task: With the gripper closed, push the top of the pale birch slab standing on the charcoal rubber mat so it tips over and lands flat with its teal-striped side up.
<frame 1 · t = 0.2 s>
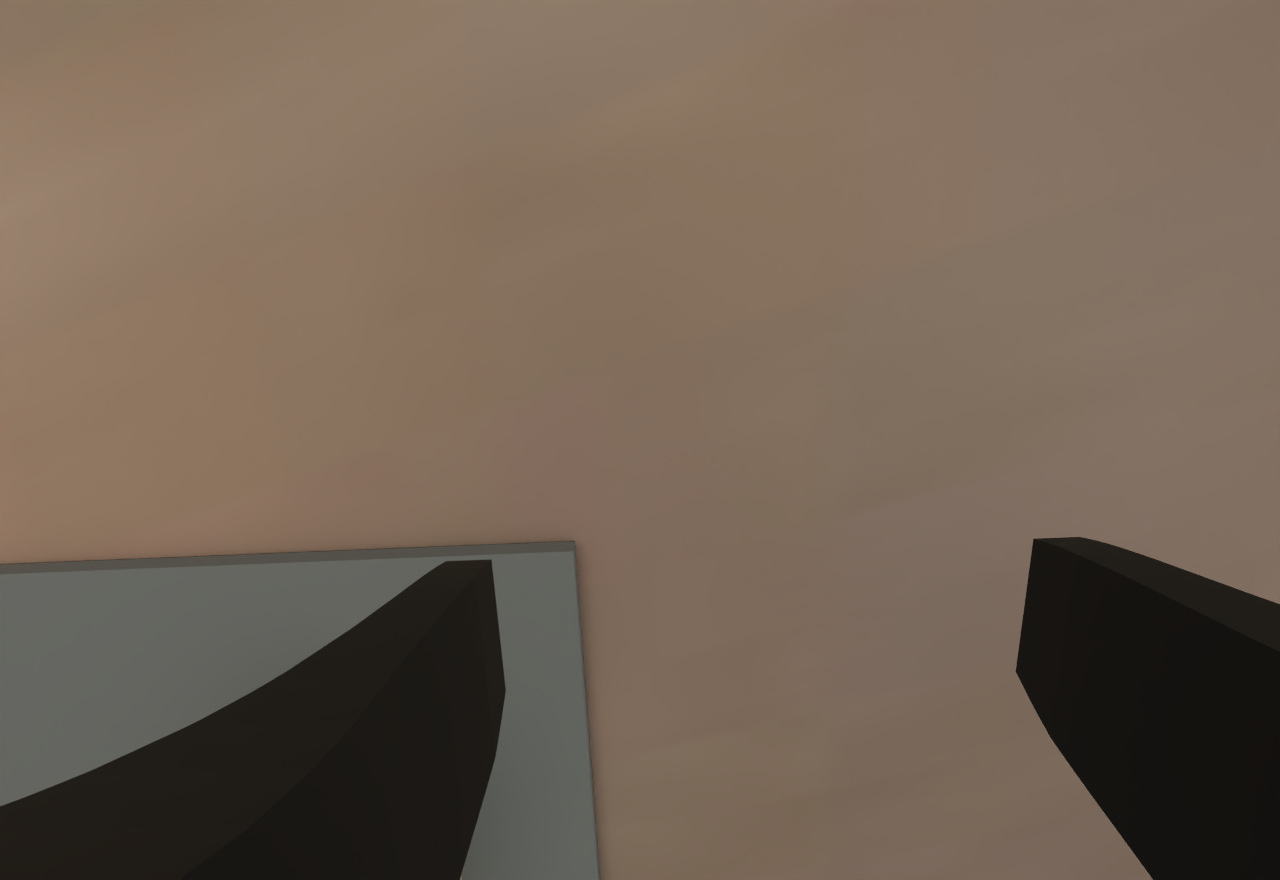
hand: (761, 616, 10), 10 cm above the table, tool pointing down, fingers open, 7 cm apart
mat: (296, 791, 23), on the table
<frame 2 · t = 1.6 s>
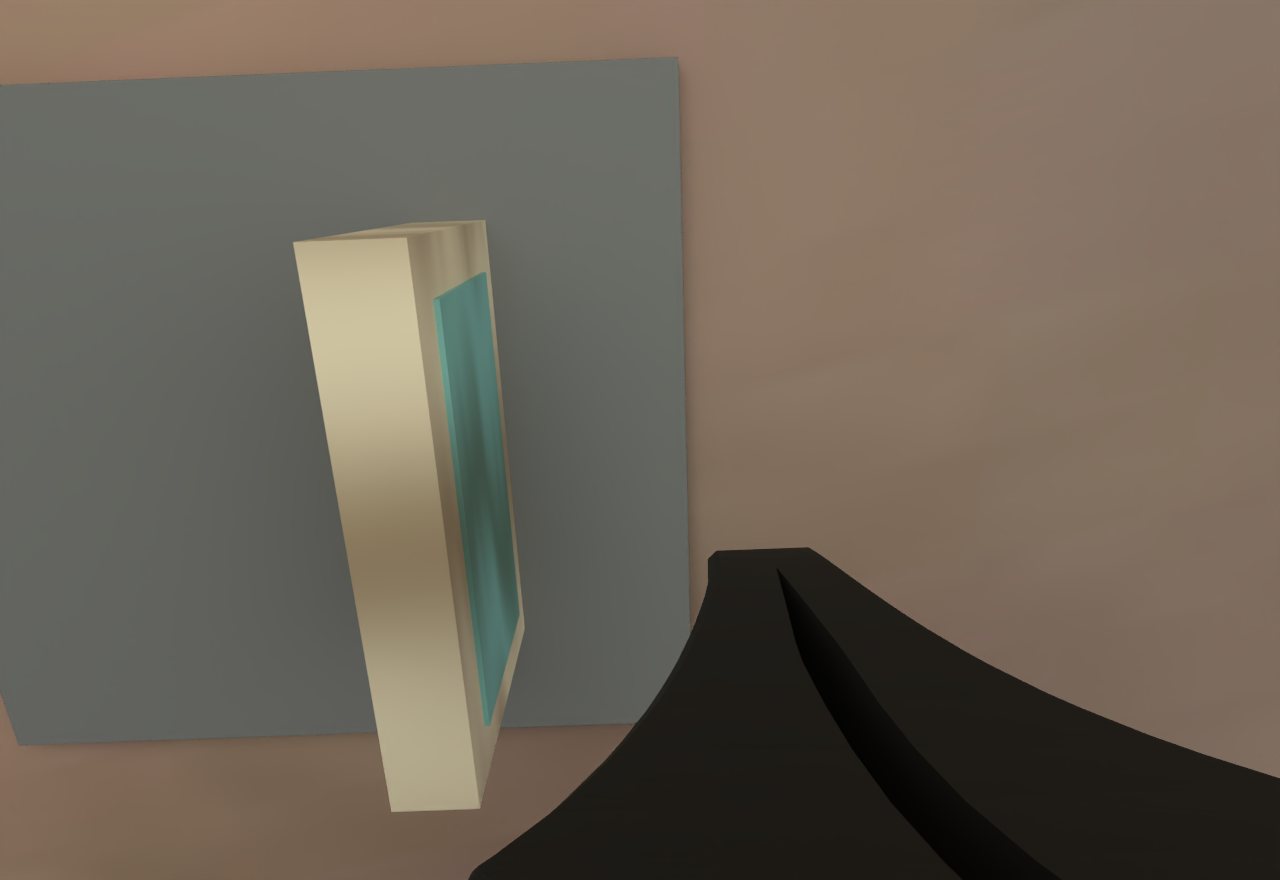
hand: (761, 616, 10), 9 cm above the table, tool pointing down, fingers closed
slab: (472, 443, 18), point 1 cm above the table, touching mat
mat: (312, 441, 19), on the table
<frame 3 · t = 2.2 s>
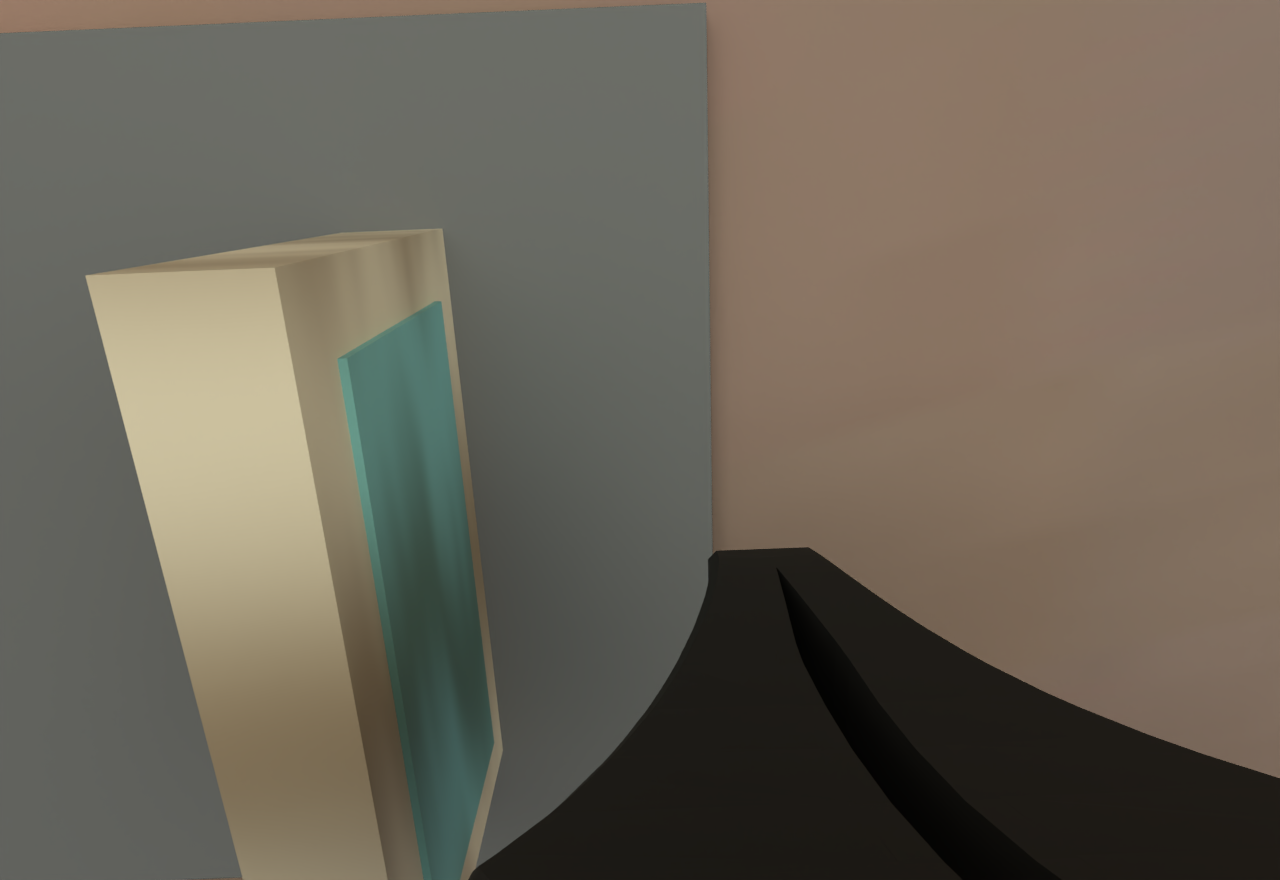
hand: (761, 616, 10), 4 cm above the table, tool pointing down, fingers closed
slab: (431, 520, 14), point 1 cm above the table, touching mat
mat: (224, 515, 14), on the table
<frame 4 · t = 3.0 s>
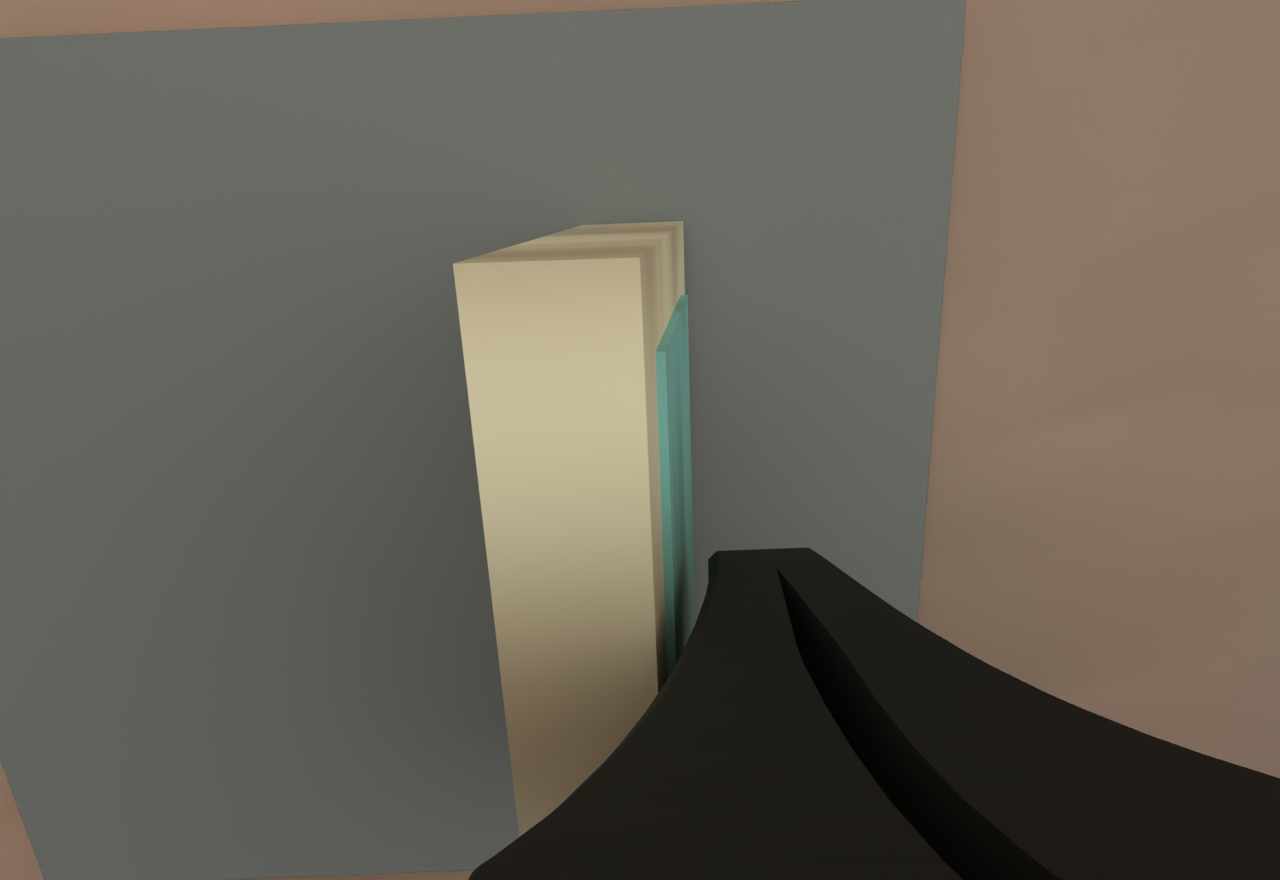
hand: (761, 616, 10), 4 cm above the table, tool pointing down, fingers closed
slab: (645, 515, 14), point 1 cm above the table, tilted 7°, touching mat
mat: (429, 509, 14), on the table
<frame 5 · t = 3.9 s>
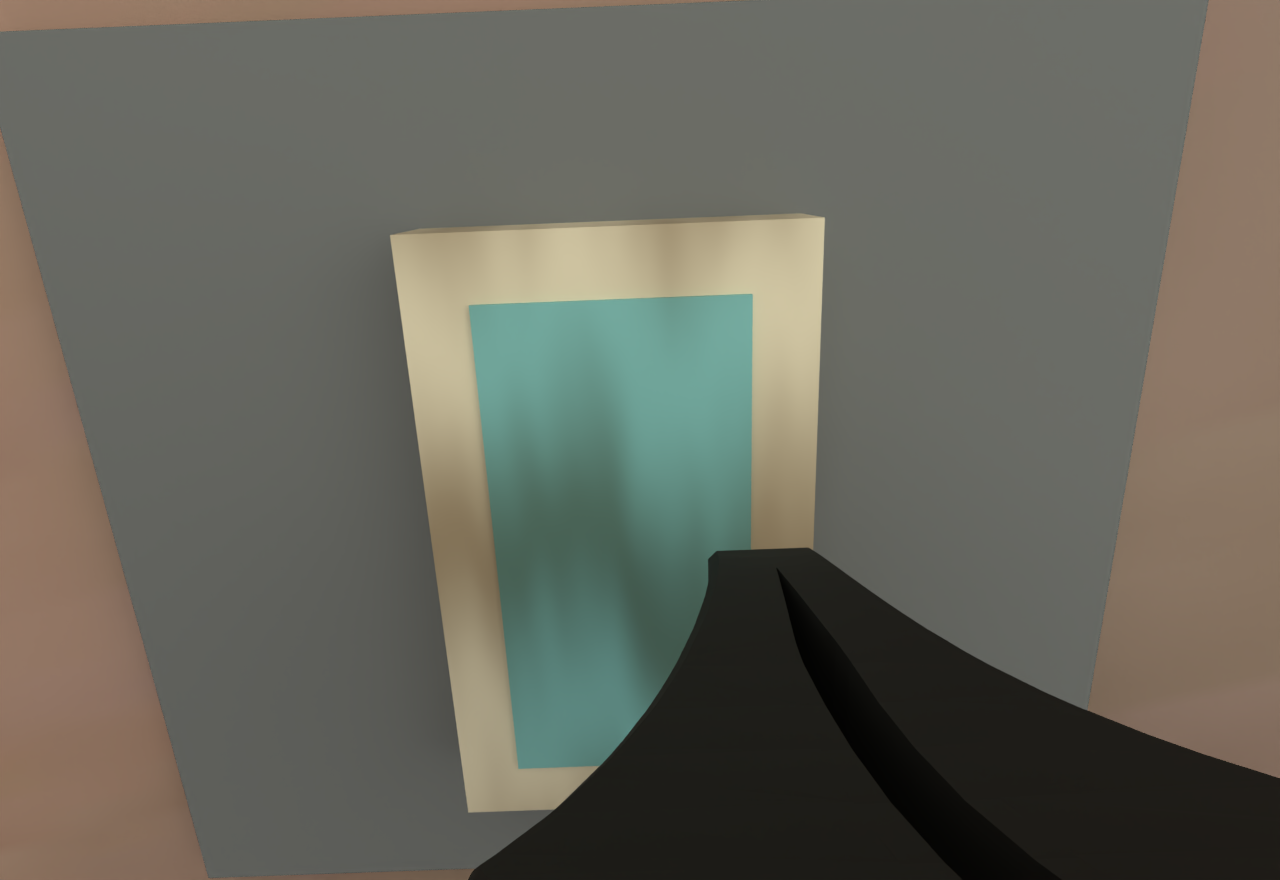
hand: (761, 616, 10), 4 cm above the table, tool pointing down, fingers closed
slab: (802, 525, 13), point 1 cm above the table, tilted 90°, touching mat
mat: (617, 500, 14), on the table
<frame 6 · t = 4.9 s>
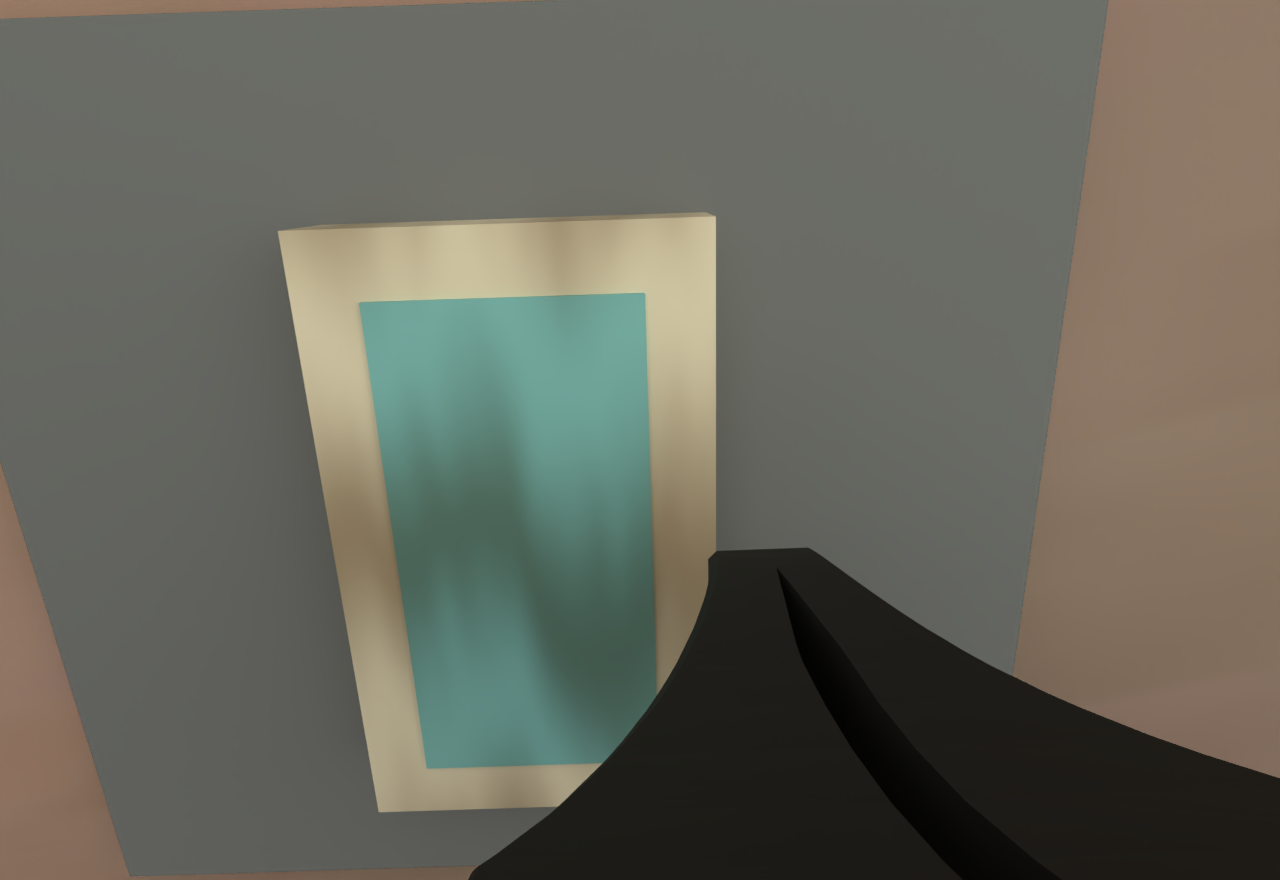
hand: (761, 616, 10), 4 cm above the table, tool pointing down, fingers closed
slab: (711, 525, 13), point 1 cm above the table, tilted 90°, touching mat
mat: (533, 499, 14), on the table
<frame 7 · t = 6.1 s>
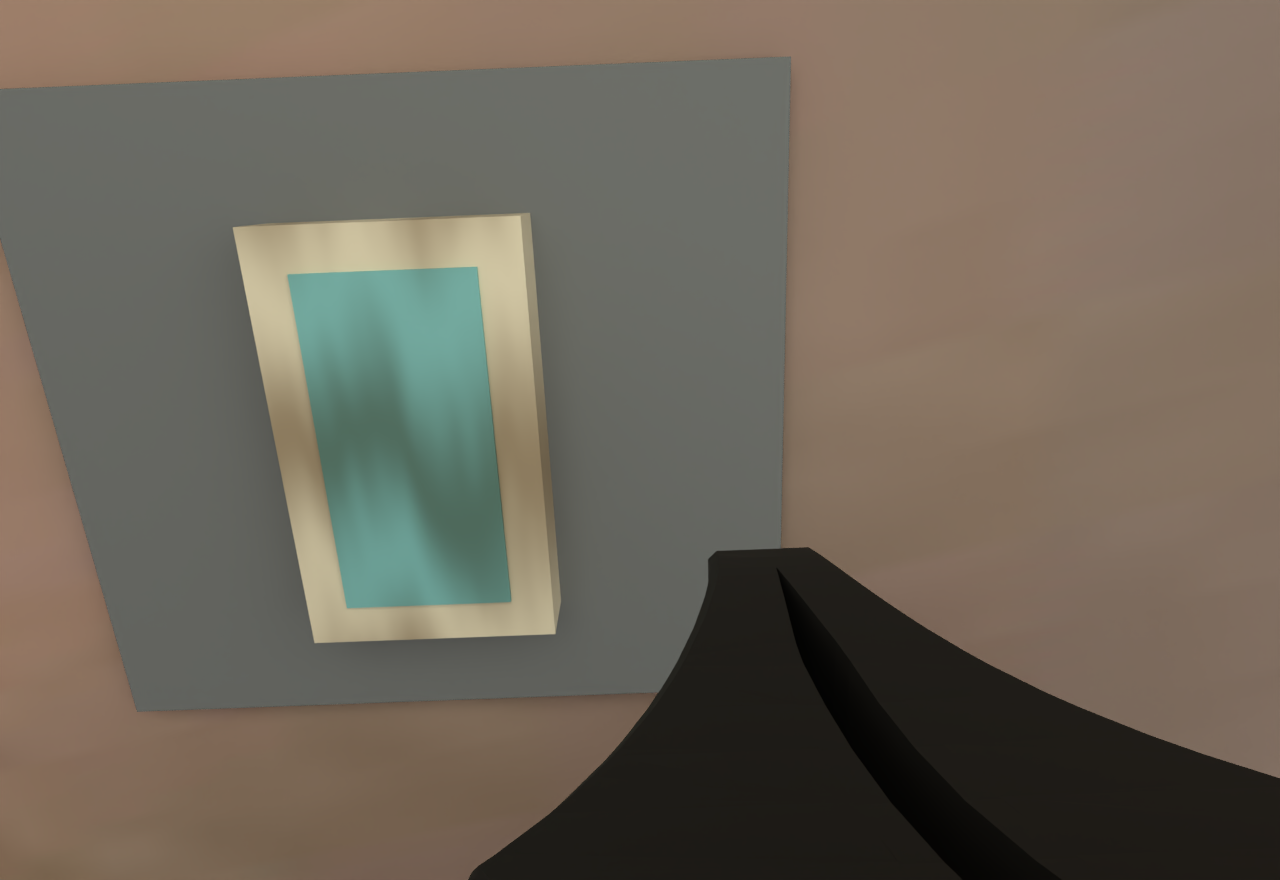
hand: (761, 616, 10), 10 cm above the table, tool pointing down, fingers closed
slab: (543, 432, 18), point 1 cm above the table, tilted 90°, touching mat
mat: (426, 420, 20), on the table
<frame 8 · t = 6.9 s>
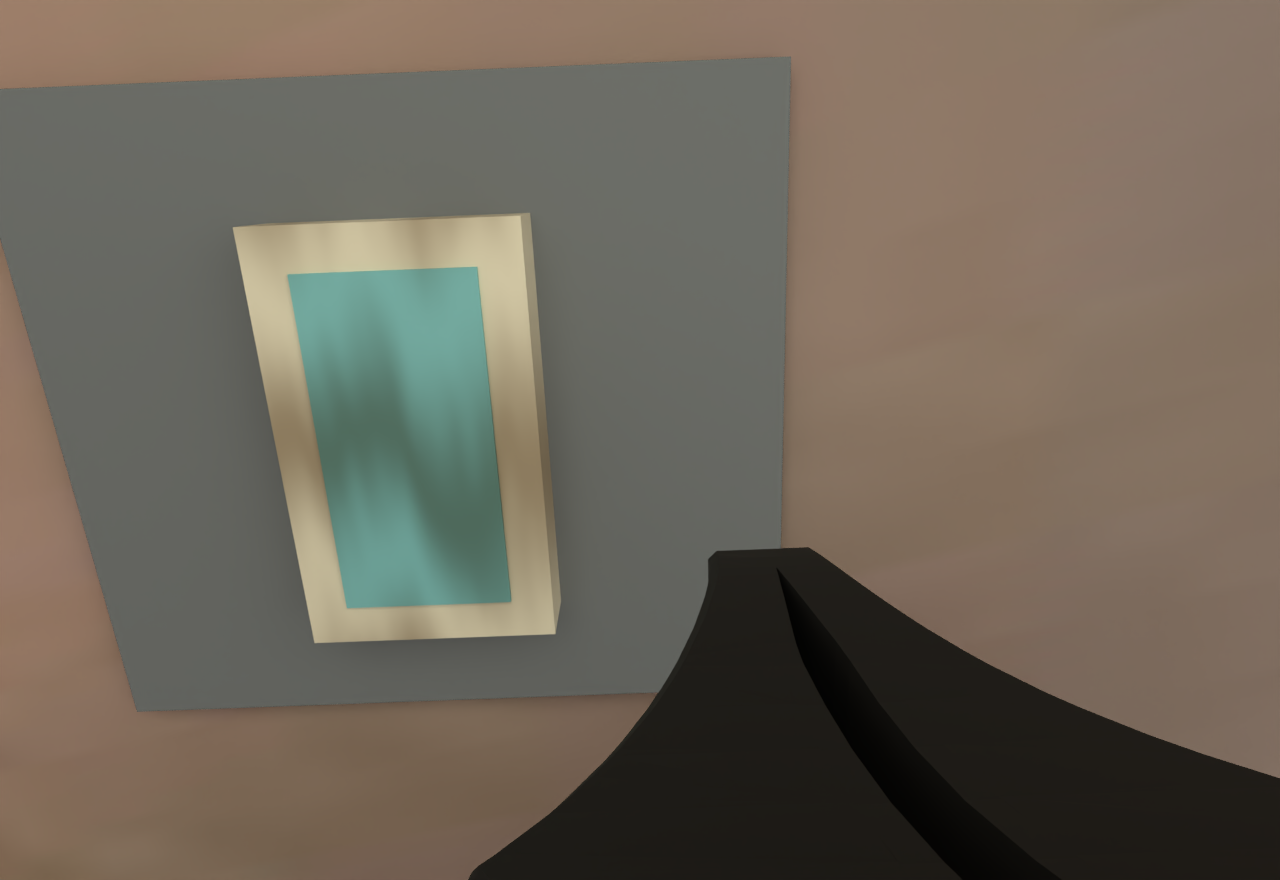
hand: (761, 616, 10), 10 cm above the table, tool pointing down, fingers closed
slab: (543, 432, 18), point 1 cm above the table, tilted 90°, touching mat
mat: (426, 420, 20), on the table
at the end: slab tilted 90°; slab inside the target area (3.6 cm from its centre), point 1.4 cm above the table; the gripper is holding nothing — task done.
